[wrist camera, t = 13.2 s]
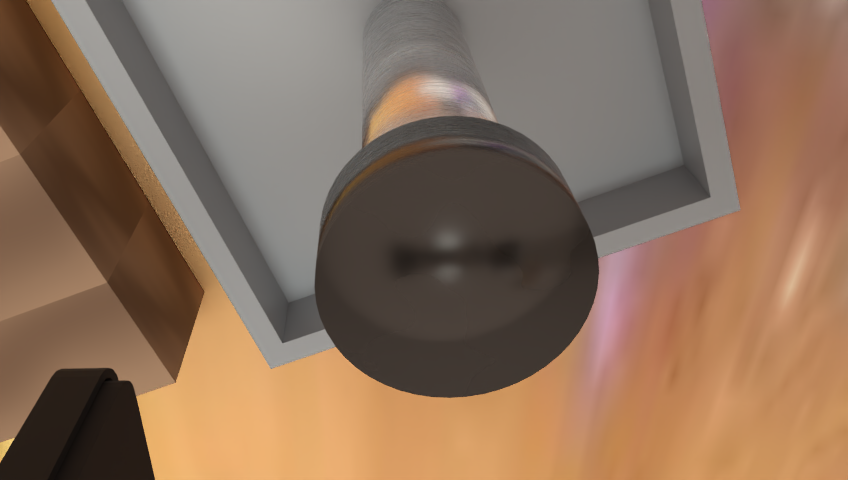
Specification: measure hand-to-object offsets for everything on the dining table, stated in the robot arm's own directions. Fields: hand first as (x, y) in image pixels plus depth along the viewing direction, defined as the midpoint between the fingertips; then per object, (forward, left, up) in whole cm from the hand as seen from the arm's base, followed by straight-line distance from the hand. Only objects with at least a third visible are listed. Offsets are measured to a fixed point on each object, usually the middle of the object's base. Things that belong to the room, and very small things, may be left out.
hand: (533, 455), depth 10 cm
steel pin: (0, 0, -17) cm, 17 cm away
